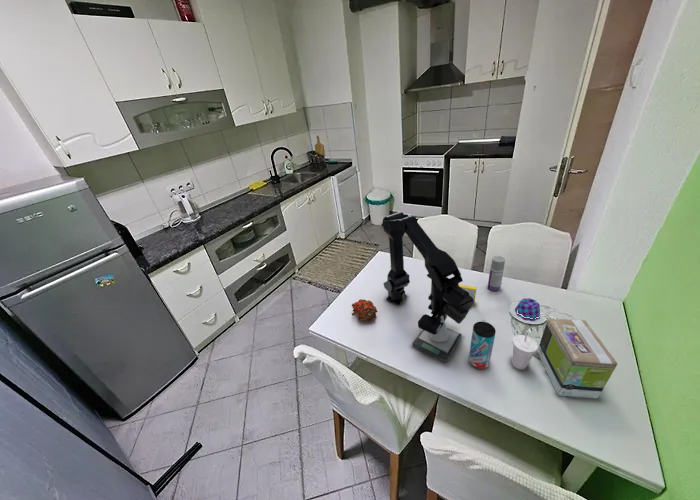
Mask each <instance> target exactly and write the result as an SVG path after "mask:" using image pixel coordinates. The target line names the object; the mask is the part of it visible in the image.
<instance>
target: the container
mask: <svg viewBox="0 0 700 500" xmlns="http://www.w3.org/2000/svg"><path fill="white" fill-rule="evenodd" d="M505 264H506V259H505V257H503V256H502V255H501V256H500V255H495V256H493V257H492V258H491V263H490V269H489V275H488V280H487V290H488V291H489V292H491V293H500V291H501V285H502V281H503V276H504V270H505Z"/></svg>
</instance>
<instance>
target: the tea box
mask: <svg viewBox="0 0 700 500" xmlns="http://www.w3.org/2000/svg"><path fill="white" fill-rule="evenodd" d="M536 353H537V354H538V356H539V358H540V361H541V362H542V364H543V367H544V369H545V371H546V373H547V375H548V378H549V379H550V381H551V383H552V386H553V388H554V389H555V392H556V394H557V396H561V397H575V398H585V399H586V398H587V399H598V398H599V397H600V396H601V394H602V392H603V390H604V389H605V388H606V385H607V383H608V382H609V380H610V378H611V377H612V375H613V374H614V371H615V370H616V368H617V366H618V362H617V361H616V359H615V358H614V356H613V355H612V353H610V351H609V349H608V348H607V347H606V346H605V344H604V343H603V342H602V341H601V339H600V338H599V337H598V335H597V334H596V333H595V331H594V330H593V328H592V327H591V326H590V324H589V323H588V321H586V320H585V319H566V318H547V320H546V324H545V327H544V330H543V333H542V335H541V339H540V341H539V344H538V350H537V352H536Z"/></svg>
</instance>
